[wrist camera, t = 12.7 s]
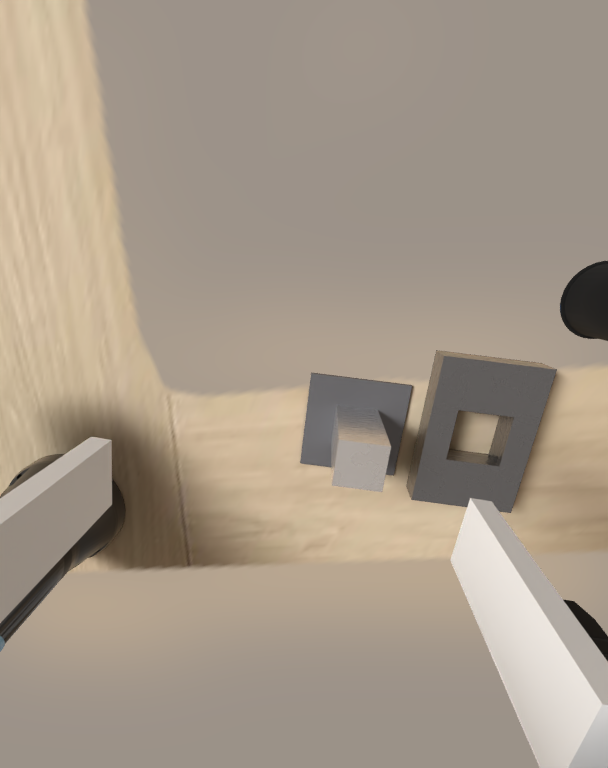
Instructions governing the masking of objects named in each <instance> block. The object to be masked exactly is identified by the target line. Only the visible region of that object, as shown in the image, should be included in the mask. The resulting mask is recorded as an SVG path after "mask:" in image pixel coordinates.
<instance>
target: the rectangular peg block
mask: <svg viewBox="0 0 608 768" xmlns="http://www.w3.org/2000/svg"><path fill="white" fill-rule="evenodd" d="M390 450H391V445H390V442H389V439H388V436H387V434H386V431H385V428H384V426H383V423H382V420H381V417H380V415H379V412H378V410H375V409H367V408H360V407H352V406H344V405H337V406H336V413H335V419H334V426H333V433H332V440H331V461H332V485H333V486H340V487H348V488H355V489H363V490H370V491H378V492H382V490H383V485H384V480H385V475H386V470H387V465H388V460H389V455H390Z"/></svg>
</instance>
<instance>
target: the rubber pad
mask: <svg viewBox="0 0 608 768" xmlns="http://www.w3.org/2000/svg"><path fill="white" fill-rule="evenodd" d="M411 389H412V385H406V384H398V383H390V382H382V381H374V380H366V379H358V378H350V377H342V376H334V375H326V374H318V373H311V380H310V388H309V396H308V404H307V413H306V421H305V429H304V437H303V445H302V453H301V462H300V463H303V464H310V465H318V466H325V467H332V461H331V440H332V433H333V426H334V419H335V413H336V406H337V405H344V406H352V407H360V408H367V409H375V410H378V412H379V415H380V417H381V420H382V423H383V426H384V428H385V431H386V434H387V436H388V439H389V442H390V445H391V450H390V455H389V460H388V465H387V470H386V475H393V476H394V471H395V467H396V462H397V457H398V452H399V447H400V442H401V438H402V433H403V428H404V423H405V418H406V413H407V409H408V404H409V399H410V394H411Z"/></svg>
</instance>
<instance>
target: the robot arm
mask: <svg viewBox="0 0 608 768" xmlns="http://www.w3.org/2000/svg"><path fill="white" fill-rule="evenodd" d="M124 518H125V506H124V501H123V498H122V495H121V493H120V491H119V489H118V487H117V485H116V484H115V482H114V481H113V480H112V440H109V439H103V438H97V437H90V438H88V439H87V440H85V441H84V442H82V443H81V444H79V445H78V446H76V447H75V448H74V449H72V450H71V451H69V452H68V453H66V454H65V455H62V454H58V455H50V456H46V457H43V458H41V459H38V460H37V461H35V462H33V463H32V464H30V465H29V466H27V467H26V468H24V469H23V470H22V471H20V472H19V473H18V474H17V475H16V476H15V478H14V479H13V480H12V481H11V483H10V485H9V487H8V488H7V489H6V490H5V491H4V492H3V493H2V495H1V496H0V651H1V650H2V649H3V647H4V645H5V643H6V642H7V641H8V640H9V639H10V637H11V636H12V635H13V634H14V633H15V632H16V631H17V630H18V628H19V627H20V626H21V625H22V624H23V623H24V621H25V620H26V619H27V618H28V617H29V616H30V615H31V613H32V612H33V611H34V610H35V609H36V608H37V606H38V605H39V604H40V603H41V602H42V601H43V600H44V598H45V597H46V596H47V595H48V594H49V593H50V591H51V590H52V589H53V588H54V587H55V586H56V585H57V583H58V582H59V581H60V580H61V579H62V578H63V577H64V575H65V574H66V573H67V572H68V571H70V570H71V569H73V568H74V567H76V566H77V565H79V564H80V563H82V562H83V561H84V560H85V559H87V558H89V557H91V556H94V555H96V554H97V553H99V552H101V551H102V550H103V549H104V548H106V547H107V546H108V545H109V544H110V542H111V541H112V540H113V539H114V538H115V536H116V535H117V534H118V533H119V531H120V529H121V527H122V525H123V522H124ZM451 563H452V565H453V567H454V570H455V572H456V574H457V577H458V579H459V581H460V584H461V586H462V588H463V591H464V593H465V595H466V598H467V600H468V602H469V605H470V607H471V609H472V611H473V614H474V616H475V618H476V621H477V623H478V625H479V628H480V630H481V632H482V635H483V637H484V639H485V642H486V644H487V646H488V649H489V651H490V653H491V656H492V658H493V660H494V663H495V665H496V667H497V670H498V672H499V674H500V676H501V679H502V681H503V683H504V686H505V688H506V691H507V693H508V695H509V697H510V700H511V702H512V705H513V707H514V709H515V711H516V714H517V716H518V718H519V721H520V723H521V725H522V728H523V730H524V732H525V735H526V737H527V739H528V742H529V744H530V746H531V749H532V751H533V753H534V756H535V758H536V760H537V762H538V765H539V767H540V768H608V636H607V635H606V634H605V632H604V631H603V630H602V628H601V627H600V626H599V624H598V623H597V622H596V620H595V619H594V618H592V617H591V616H590V615H589V614H588V613H587V612H586V611H584V610H583V609H582V608H581V607H580V606H579V605H577V603H575V602H574V601H569V600H563V599H562V598H561V597H560V595H559V594H558V593H557V591H556V589H555V588H554V587H553V585H552V584H551V583H550V581H549V580H548V578H547V577H546V576H545V575H544V573H543V572H542V570H541V569H540V567H539V566H538V565H537V563H536V562H535V561H534V559H533V558H532V556H531V555H530V554H529V552H528V551H527V549H526V548H525V547H524V545H523V544H522V543H521V541H520V540H519V538H518V537H517V536H516V534H515V533H514V532H513V530H512V529H511V527H510V526H509V525H508V523H507V522H506V520H505V519H504V518H503V516H502V515H501V514H500V512H499V511H498V509H497V508H496V507H495V505H494V504H493V503H492V501H486V500H480V499H474V498H470V500H469V504H468V507H467V510H466V513H465V516H464V519H463V522H462V525H461V529H460V532H459V535H458V538H457V541H456V544H455V547H454V551H453V554H452V557H451Z"/></svg>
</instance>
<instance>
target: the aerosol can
mask: <svg viewBox="0 0 608 768" xmlns="http://www.w3.org/2000/svg"><path fill="white" fill-rule="evenodd" d="M560 313H561V317H562V320H563V322H564V324H565V325H566V327H567V328H568V329H569V330H570V331H571V332H573V333H574V334H575V335H578V336H580V337H583V338H588V339H603V340H607V341H608V261H602V262H598V263H595V264H592V265H590V266H587V267H586V268H584V269H583V270H581V271H580V272H578V273H577V274H576V275H575V276H574V277H573V278H572V279H571V280H570V282H569V283H568V285H567V286H566V288H565V290H564V292H563V295H562V297H561V303H560Z"/></svg>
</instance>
